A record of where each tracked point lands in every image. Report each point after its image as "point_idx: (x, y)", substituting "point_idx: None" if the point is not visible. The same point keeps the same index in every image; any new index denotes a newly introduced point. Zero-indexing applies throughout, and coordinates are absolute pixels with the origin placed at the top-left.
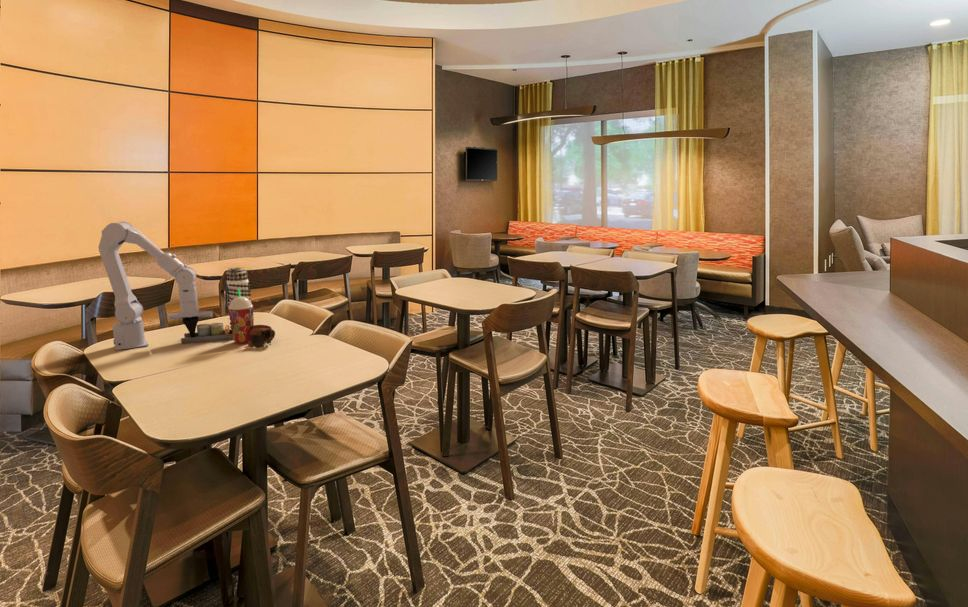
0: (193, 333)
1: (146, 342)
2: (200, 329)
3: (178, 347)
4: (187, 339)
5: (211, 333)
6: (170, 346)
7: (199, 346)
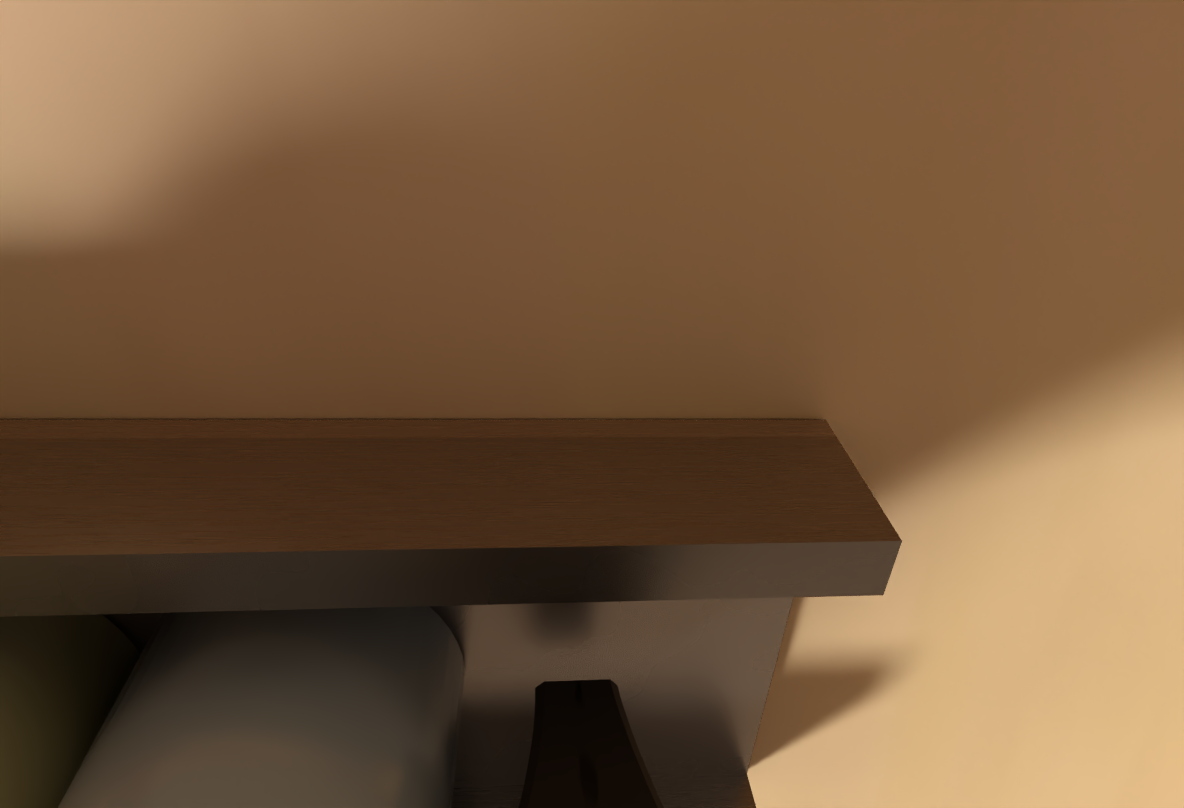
0: (545, 786)
1: None
2: None
3: (930, 205)
4: (706, 510)
5: (5, 766)
6: (1080, 396)
7: (299, 44)
